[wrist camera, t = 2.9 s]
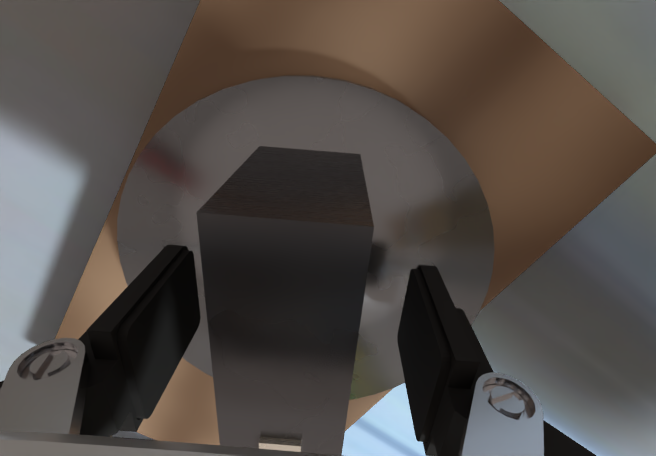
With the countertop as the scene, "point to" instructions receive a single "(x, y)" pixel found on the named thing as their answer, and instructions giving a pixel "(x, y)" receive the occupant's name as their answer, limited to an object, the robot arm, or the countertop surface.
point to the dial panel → (421, 96)
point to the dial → (304, 244)
